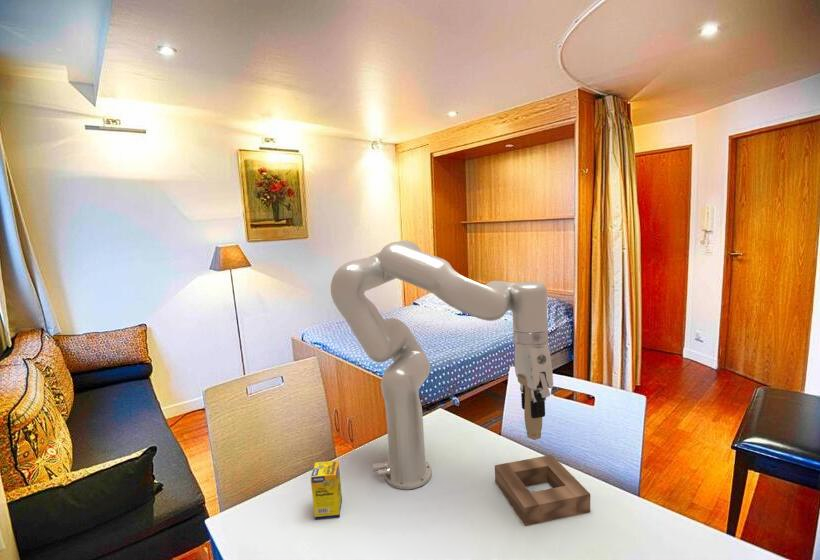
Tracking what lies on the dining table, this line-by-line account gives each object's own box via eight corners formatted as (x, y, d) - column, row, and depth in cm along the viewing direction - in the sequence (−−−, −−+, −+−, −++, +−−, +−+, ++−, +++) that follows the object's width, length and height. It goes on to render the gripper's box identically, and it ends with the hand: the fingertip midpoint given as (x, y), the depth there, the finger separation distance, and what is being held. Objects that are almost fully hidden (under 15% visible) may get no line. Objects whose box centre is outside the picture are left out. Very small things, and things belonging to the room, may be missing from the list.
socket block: (524, 526, 88) (524, 507, 88) (495, 481, 104) (494, 465, 103) (590, 512, 91) (590, 493, 91) (552, 470, 107) (551, 454, 106)
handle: (549, 443, 92) (547, 380, 90) (519, 441, 94) (517, 379, 92) (547, 432, 97) (545, 372, 94) (519, 430, 98) (517, 371, 96)
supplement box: (340, 517, 94) (336, 474, 93) (314, 520, 94) (309, 477, 92) (342, 500, 100) (339, 459, 99) (318, 502, 100) (314, 462, 98)
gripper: (566, 344, 84) (568, 427, 87) (528, 325, 101) (531, 395, 103) (532, 349, 83) (535, 432, 85) (500, 329, 99) (503, 400, 102)
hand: (533, 411), depth 94 cm, fingers closed on handle, 3 cm apart
